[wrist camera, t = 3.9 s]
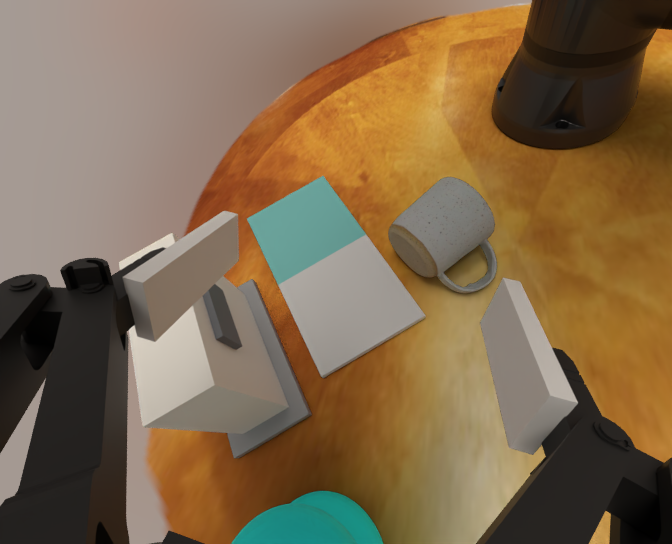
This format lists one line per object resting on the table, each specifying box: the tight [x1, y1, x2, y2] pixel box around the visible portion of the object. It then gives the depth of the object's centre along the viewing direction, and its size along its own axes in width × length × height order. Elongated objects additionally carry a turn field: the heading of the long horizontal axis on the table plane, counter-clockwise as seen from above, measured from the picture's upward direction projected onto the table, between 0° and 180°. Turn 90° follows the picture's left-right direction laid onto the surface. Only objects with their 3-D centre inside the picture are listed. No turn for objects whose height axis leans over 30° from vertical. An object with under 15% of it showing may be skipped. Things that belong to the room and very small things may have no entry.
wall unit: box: [119, 233, 312, 458], centre depth 29 cm, size 8×17×14 cm, turn 27°
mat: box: [247, 176, 425, 378], centre depth 39 cm, size 12×24×1 cm, turn 27°
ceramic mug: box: [388, 177, 497, 293], centre depth 33 cm, size 11×8×8 cm
